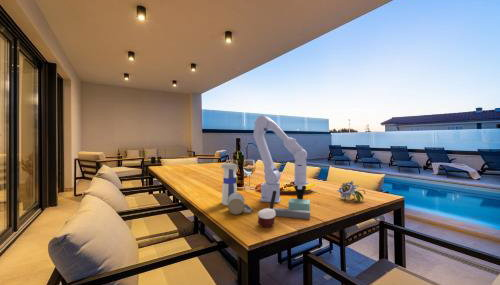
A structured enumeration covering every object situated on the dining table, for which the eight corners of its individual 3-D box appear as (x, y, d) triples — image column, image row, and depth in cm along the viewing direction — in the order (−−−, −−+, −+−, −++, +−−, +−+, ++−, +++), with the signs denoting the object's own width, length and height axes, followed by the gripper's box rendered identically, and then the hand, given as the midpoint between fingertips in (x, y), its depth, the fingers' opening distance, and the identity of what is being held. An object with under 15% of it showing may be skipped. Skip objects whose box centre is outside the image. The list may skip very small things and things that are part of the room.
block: (288, 211, 100) (288, 202, 100) (290, 206, 106) (290, 198, 106) (309, 213, 97) (309, 204, 97) (309, 208, 104) (310, 200, 103)
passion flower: (344, 209, 118) (331, 189, 123) (356, 203, 123) (344, 184, 128) (359, 203, 109) (345, 181, 114) (372, 196, 114) (358, 175, 119)
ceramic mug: (227, 215, 92) (228, 197, 92) (227, 209, 100) (227, 192, 100) (252, 215, 93) (253, 197, 93) (250, 209, 101) (251, 192, 101)
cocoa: (259, 231, 78) (259, 198, 77) (252, 224, 84) (252, 193, 83) (283, 226, 82) (282, 194, 81) (274, 219, 88) (274, 189, 87)
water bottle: (235, 199, 116) (235, 151, 115) (239, 204, 108) (240, 153, 107) (219, 201, 113) (220, 152, 113) (223, 205, 105) (223, 153, 105)
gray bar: (272, 215, 93) (272, 209, 93) (273, 213, 95) (273, 207, 95) (309, 219, 89) (310, 213, 89) (309, 217, 92) (309, 211, 91)
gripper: (308, 176, 102) (308, 205, 102) (308, 171, 116) (308, 197, 116) (293, 175, 104) (292, 204, 104) (294, 171, 118) (294, 196, 118)
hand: (300, 200), depth 110 cm, fingers closed
